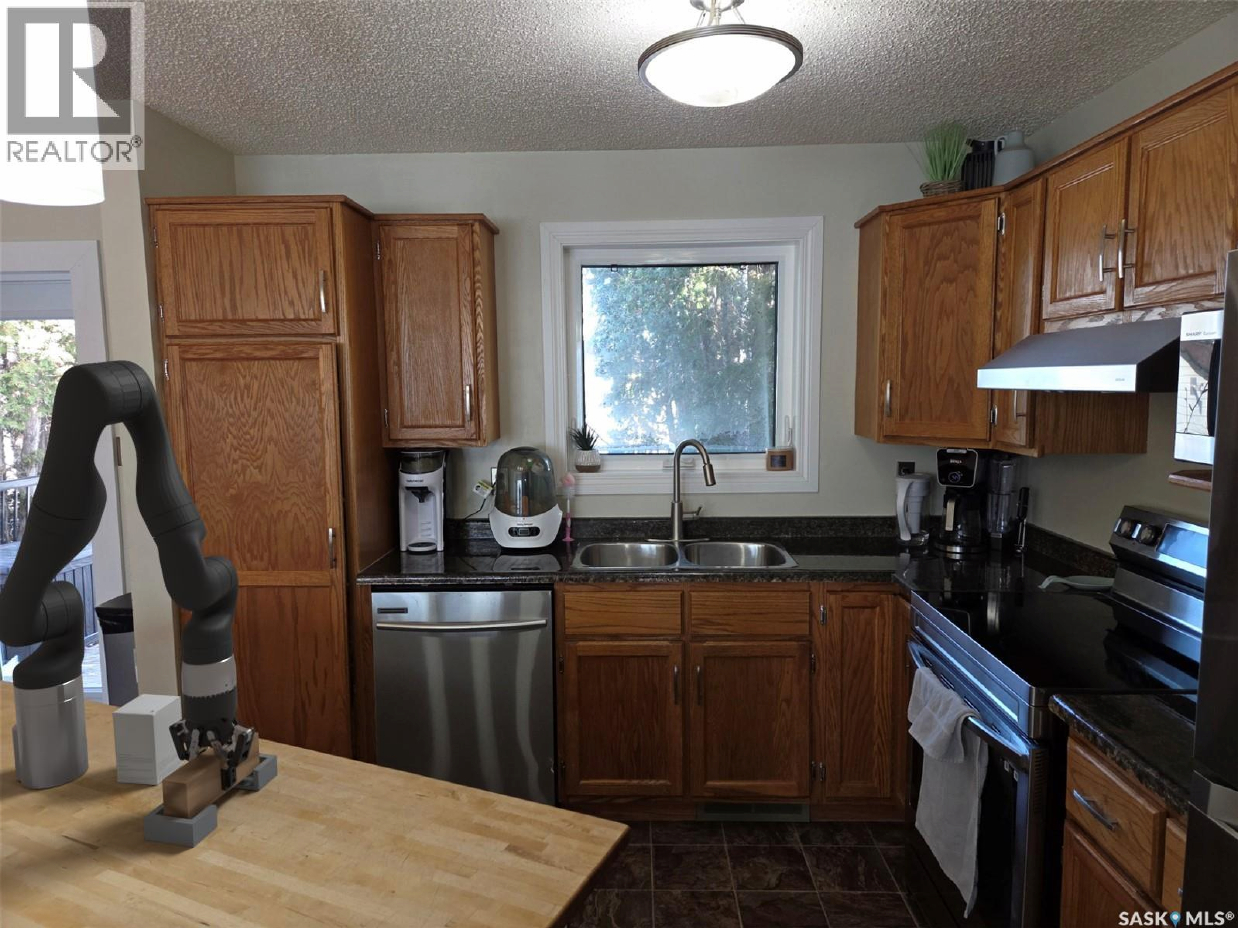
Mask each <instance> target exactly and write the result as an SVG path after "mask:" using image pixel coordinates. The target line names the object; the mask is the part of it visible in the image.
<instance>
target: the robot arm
mask: <svg viewBox="0 0 1238 928" xmlns="http://www.w3.org/2000/svg"><path fill="white" fill-rule="evenodd" d="M52 404H53V405H52V409H51V410H52V411H51V419H50V427H49V433H48V434H49V435H48V440H47V445H46V450H45V453H44V458H43V461H42V462H43V463H42V465H41V469H40V473H39V477H38V481H37V484H36V488H35V490H34V492H33V495H32V498H31V499H32V500H31V503H30V506H29V510H28V512H27V517H26V522H25V526H24V529H23V533H22V537H21V540H20V544H19V547H18V549H17V552H16V555H15V558H14V561H13V563H12V566H11V568H10V571H9V573H8V575H7V577H6V579H5V582H4V583H3V585H2V588H1V590H0V643H2V644H3V645H5V646H7V647H9V648H23V647H27V646H32V645H36V644H39V643H40V645H39V646H38V647H37V648H36V649H35V650H34V651H33V652H32V653H31V654H29V655H28V656H26V657H25V658H24V659H22V660H20V661H19V662H18V663H17V664H15V666H14V668H13V669H12V673H11V674H12V684H13V685H12V686H13V698H14V708H15V710H14V711H15V721H16V724H14V725H13V726H12V727H11V731H12V732H11V733H12V744H13V745H12V746H13V756H14V768H15V780H16V781H18V780H19V782H21V785H22V786H23V787H24V788H27V789H32V790H33V789H35V790H36V789H38V790H40V789H48V788H54V787H57V786H60V785H61V786H62V785H64V784H67V783H70V782H71V781H74V780H76V779H78V778H80V777H81V776H83V775H84V774H85V773H86V772H87V771H88V769H89V753H88V752H89V751H88V737H87V724H86V723H87V722H86V721H87V720H86V708H85V694H84V680H83V667H82V666H83V661H84V660H85V659H84V658H85V654H86V653H85V649H86V648H85V607H84V602H83V598H82V595H81V593H80V590H79V589H78V588H77V587H76V585H74V584H73V583H72V582H70V581H68V580H61V579H60V580H55V581H54V579H55V578H56V577H57V576H58V574H60V573H61V571H62V570H63V569H65V568H66V567H67V566H68V565H69V564H70V563H71V562H72V561H73V560H74V559H76V557H77V556H78V555H79V554H80V553H81V552H83V550H84V549H85V548H86V547H87V546H88V545H89V544H90V542H92V540H93V539H94V537H95V535H96V534H97V533H98V530H99V527H100V524H101V521H102V519H103V515H104V512H105V508H106V503H107V501H108V500H107V499H108V495H107V494H108V493H107V488H106V485H105V482H104V480H103V477H102V475H101V474H100V472H99V470H98V468H97V465H96V463H95V457H96V451H97V448H98V443H99V440H100V438H101V435H102V434H103V432H104V430H105V428H107V426H110V425H111V426H112V425H116V424H120V423H122V424H123V426H124V427H125V428H126V430H127V432H128V434H129V436H130V437H131V440H132V444H133V446H134V450H135V456H136V457H135V458H136V475H135V498H136V499H135V500H136V504H137V507H138V512H139V513H140V515H141V519H142V520H143V522H144V524H145V526H146V528H147V530H148V532H149V534H150V536H151V537H152V540H153V542H154V544H155V545H156V547H157V548H156V549H157V552H158V553H157V554H158V559H159V564H160V570H161V574H162V579H163V583H164V587H165V589H166V591H167V593H168V596H169V597H170V599H171V600H172V601H173V602H174V603H175V604H176V605H177V606H178V607H179V608H181V609H183V610H185V611H188V612H191V616H190V618H189V619H188V621H187V622H186V623H185V624H184V626H183V627H182V630H181V639H180V640H181V658H182V661H181V662H182V664H181V665H182V666H181V675H180V676H181V691H182V709H183V711H182V713H183V717H184V718H182V719H181V720H179V721H177V722H176V723H174V724H173V725H171V726H170V727H169V731H170V734H171V737H172V740H173V742H174V745H175V748H176V751H177V754H178V757H179V759H180V760H182V761H183V760H184V761H185V760H186V761H187V762H189V761H191V760H192V759H194V758H195V757H198V756H199V755H200V754H201V753H203V752H204V751H207V750H208V749H209V748H213V751H214V754H215V756H216V757H218V758H219V760H220V764H221V767H222V769H221V789H222V790H224V791H227V790H228V791H229V789H230V788H231V787H232V786H233V785H234V784H235V783H236V781H237V777H236V776H237V775H236V767H238V766H239V765H240V764H241V763H242V762H244V761H245V760H247V759H248V756H249V752H250V748H251V745H252V741H253V737H254V733H255V732H256V729H255V728H254V726H249V727H248V728H246V727H243V726H242V725H239V721H238V718H237V716H236V714H237V710H238V706H239V705H238V703H239V702H238V685H237V683H238V682H237V664H236V661H235V656H234V636H233V623H234V622H233V621H234V618H235V615H236V610H237V609H236V608H237V601H238V595H239V586H240V585H239V576H238V572H237V569H236V567H235V566H234V563H233V562H231V560H230V559H228V558H227V557H224V556H223V555H217V554H216V555H214V554H212V555H208V556H204V553H203V550H202V546H201V545H202V542H203V540H204V539H205V538H206V536H207V533H208V532H207V528H206V525H205V522H204V520H203V519H202V517H201V514H200V513H199V510H198V508H197V506H196V504H195V502H194V500H193V498H192V496H191V494H190V491H189V490H188V488H187V486H186V483H185V481H184V479H183V476H182V473H181V471H180V468H179V464H178V461H177V459H176V456H175V452H174V448H173V444H172V441H171V438H170V435H169V430H168V427H167V424H166V421H165V418H164V414H163V410H162V408H161V403H160V401H159V397H158V394H157V391H156V389H155V386H154V384H153V382H152V380H151V378H150V375H148V373H147V371H146V370H145V369H144V368H143V367H141V366H140V365H139V364H137V363H136V362H133V361H131V360H123V359H119V360H108V361H107V360H106V361H102V362H101V361H99V362H92V363H91V362H89V363H82V364H77V365H73V366H70V367H69V368H67V369H66V370H65V371H64V372H63V374H62V375H60V378H59V380H58V382H57V385H56V389H55V393H54V398H53V403H52ZM233 734H235V736H236V737H235V738H234V735H233ZM225 744H226V745H225ZM223 745H225V746H224V747H223V748H222V746H223ZM227 753H228V756H229V759H228V757H227ZM232 788H233V787H232ZM232 788H231V789H232ZM231 789H230V790H231ZM228 791H227V792H228Z"/></svg>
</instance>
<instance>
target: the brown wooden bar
mask: <svg viewBox="0 0 1238 928" xmlns="http://www.w3.org/2000/svg"><path fill="white" fill-rule="evenodd" d="M233 735H234V738H235V737H236V736H235V734H233ZM259 739H260V738H259V732H256V731H255V733H254V737H253V741H252V745H251V748H250V752H249V756H248V759H247V760H245V761H244V762H242V763H241V764H240V765H239V766H238V767H236V775H237V776H236V777H237V781H236V783H235V784H234V785H233V786H232V787H231V788H230V789H229V790H231V789H232V788H234V786H235V785H236V784H237V783H239V782H240V781H241V780H243V779H244V778H245V777H246V776H248V775H249V774H250V773H252V772H253V769H254V768H256V767H257V766H258V765H259V764H260V760H259V753H260V743H259V742H260V740H259ZM225 745H226V744H225ZM225 745H223V746H222V748H223V747H224V746H225ZM227 757H228V759H229V756H228V753H227ZM221 769H222V767H221V764H220V760H219V758H218V757H216V756H215V754H214V751H213V748H210V747H208V750H207V751H204V752H203V753H201V754H200V755H199V756H198V757H195V758H194V759H192V760H191V761H187V762H186V763H184V764H183V765H182V766H181V767H179V768H178V769H177V770H176V771H174V772H173V773H172V774H170V775H169V776H167V777H166V778H164V779H163V780H162V782H161V789H162V803H163V807H164V816H170V817H177V818H184V819H191V820H192V819H193V818H194V817H195V816H197V815H198V814H199V813H200V812H201V811H203V810H204V809H205V808H206V807H208V806H209V805H210V804H213V803H214V802H216V801H217V800H218V799H219V798H221V797H222V796H223V795H225V794H226V793H227V792H229V790H227V791H224V790H222V789H221Z"/></svg>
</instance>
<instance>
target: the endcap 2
mask: <svg viewBox="0 0 1238 928" xmlns="http://www.w3.org/2000/svg"><path fill="white" fill-rule="evenodd" d="M259 760H260V764H259V765H258V766H257V767H256V768H254V769H253V772H252V773H250V774H249V775H248V776H246V777H245V778H244V779H243V780H241V781H240V782H239V783H237V784H236V785H235V786H234V787H233V788H236V789H243V790H250V791H257V792H259V791H261V790H262V789H263V788H265V786H267V784H269V783H270V782H271V781H272V780H273V779H274V778H275V777H277V776H278V755H276V754H268V753H262V752H259Z"/></svg>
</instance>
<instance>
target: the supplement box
mask: <svg viewBox="0 0 1238 928" xmlns="http://www.w3.org/2000/svg"><path fill="white" fill-rule="evenodd" d="M111 714H112V723H113V736H114V750H115V751H114V753H115V763H116V764H115V765H116V773H117V776H116V777H117V783H124V784H137V785H139V784H140V785H150V786H151V785H153V786H157V785H159V784H161V783H162V780H163V779H164V778H166V777H167V776H169V775H170V774H172V773H173V772H175V771H176V770H178V769H179V768H181V767H182V766H184V765H185V764H186V763H185V760H183V761H182V760H180V759H179V757H178V754H177V751H176V748H175V745H174V742H173V740H172V737H171V734H170V731H169V727H170V726H171V725H173V724H174V723H176V722H177V721H179V720H181V719H183V717H182V715H183V714H182V700H181V695H180V696H178V695H166V694H165V695H163V694H162V695H161V694H150V693H149V694H147V693H142V694H140V695H139V696H137V697H135V698H133V699H132V700H130V701H128V702H127V703H125V704H123V705H122V706H120V707H119V708H117V709H116V710H114V711H112V713H111Z"/></svg>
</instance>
